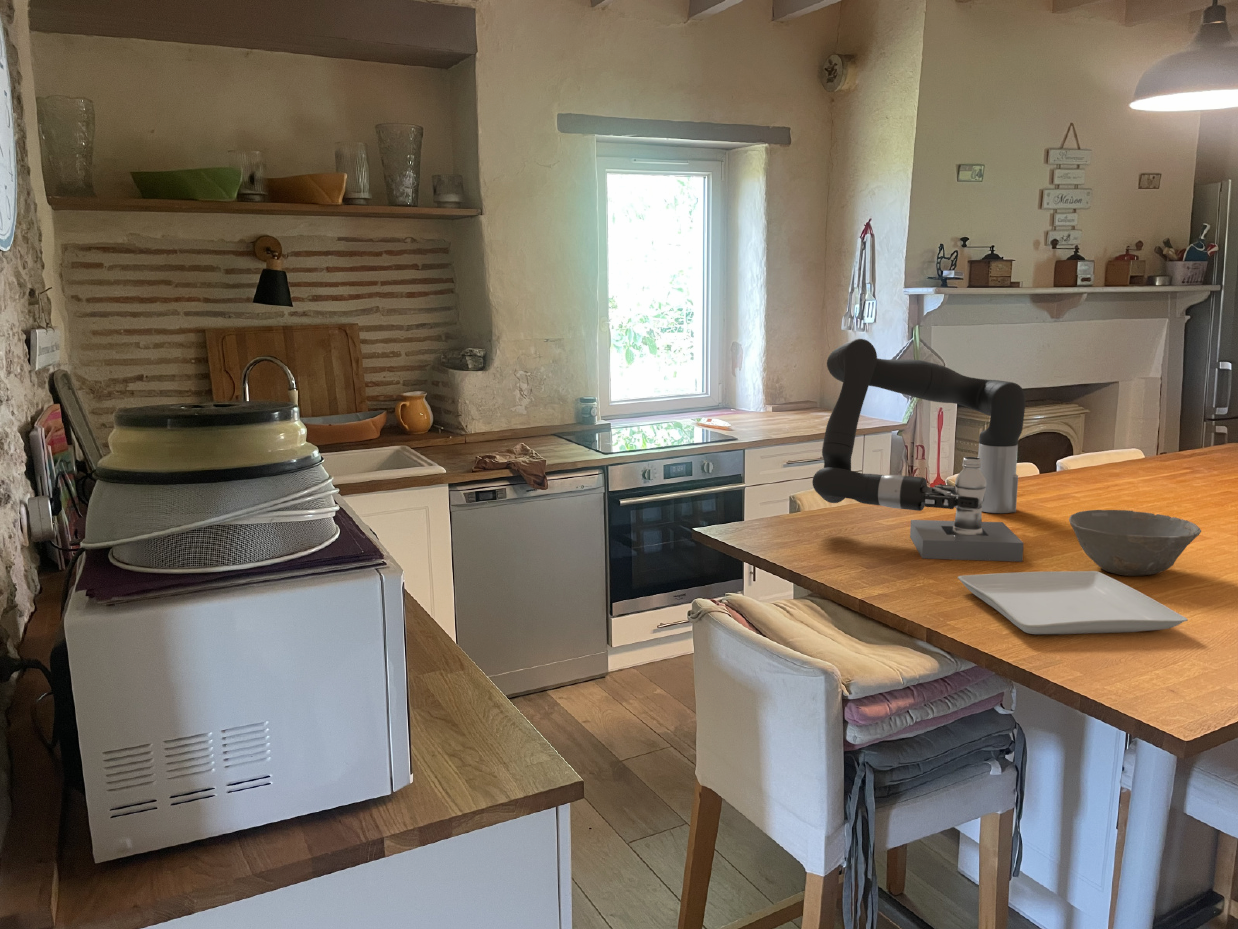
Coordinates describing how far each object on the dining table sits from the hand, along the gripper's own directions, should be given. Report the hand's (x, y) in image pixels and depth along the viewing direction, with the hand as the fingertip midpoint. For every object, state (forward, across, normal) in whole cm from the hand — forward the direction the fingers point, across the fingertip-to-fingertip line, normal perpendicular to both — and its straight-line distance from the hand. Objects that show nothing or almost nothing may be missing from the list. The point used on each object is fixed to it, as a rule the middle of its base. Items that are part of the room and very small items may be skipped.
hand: (981, 500), depth 195 cm
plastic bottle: (-2, 0, +11) cm, 11 cm away
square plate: (+20, -34, +12) cm, 41 cm away
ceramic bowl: (+29, -2, +11) cm, 31 cm away
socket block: (-3, 0, +11) cm, 12 cm away
